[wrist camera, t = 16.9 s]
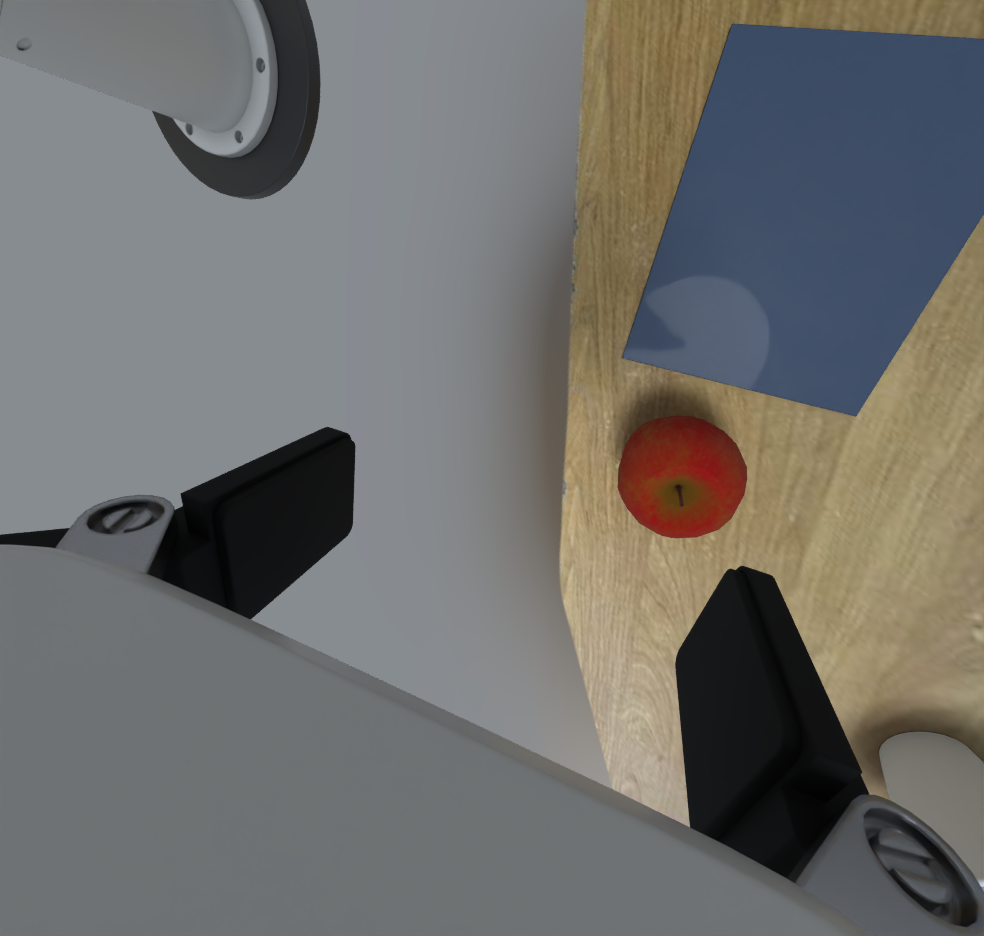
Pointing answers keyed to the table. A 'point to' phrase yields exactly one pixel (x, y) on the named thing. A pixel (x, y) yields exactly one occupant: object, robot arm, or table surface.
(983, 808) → the cup
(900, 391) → the table surface
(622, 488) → the apple
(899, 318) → the napkin
